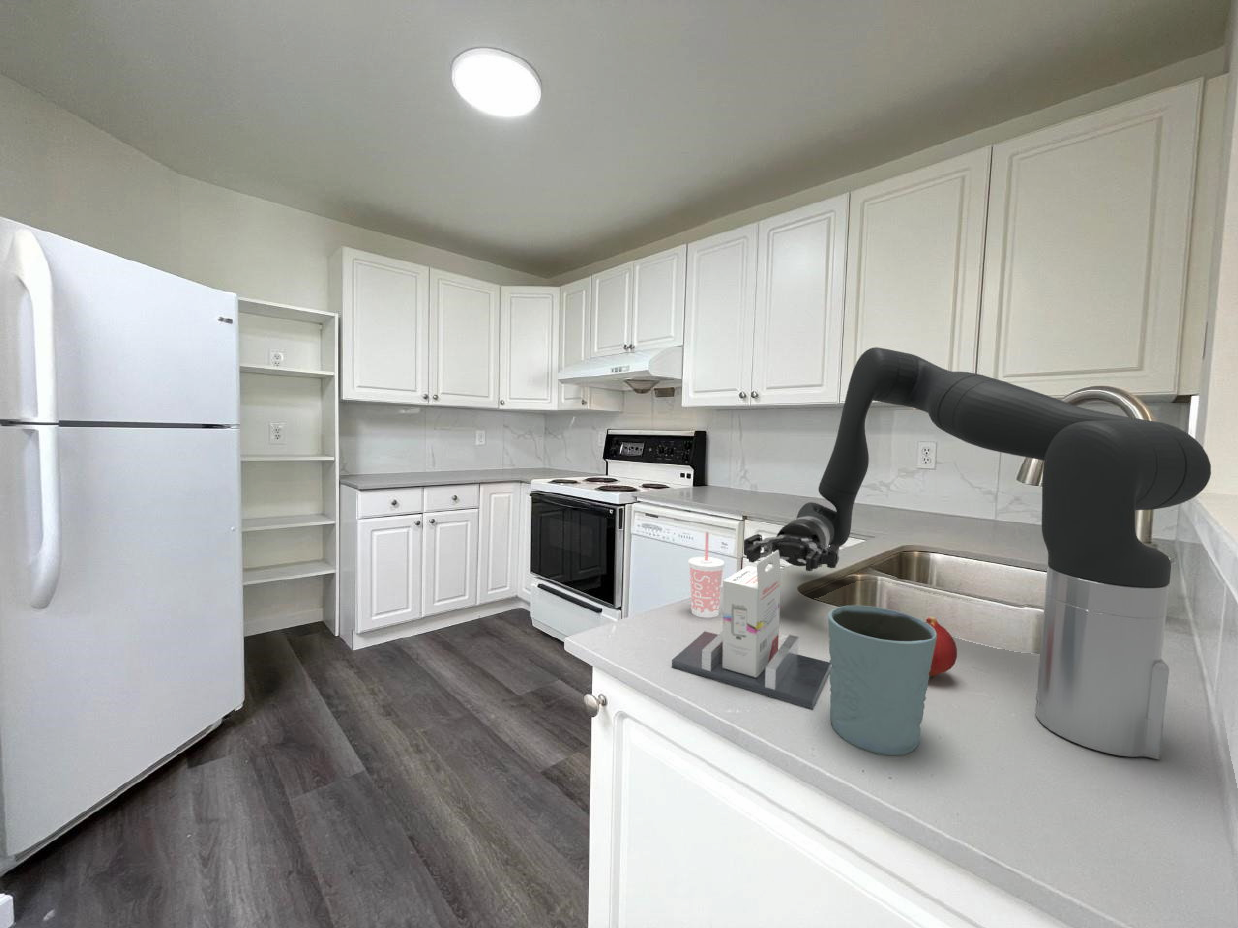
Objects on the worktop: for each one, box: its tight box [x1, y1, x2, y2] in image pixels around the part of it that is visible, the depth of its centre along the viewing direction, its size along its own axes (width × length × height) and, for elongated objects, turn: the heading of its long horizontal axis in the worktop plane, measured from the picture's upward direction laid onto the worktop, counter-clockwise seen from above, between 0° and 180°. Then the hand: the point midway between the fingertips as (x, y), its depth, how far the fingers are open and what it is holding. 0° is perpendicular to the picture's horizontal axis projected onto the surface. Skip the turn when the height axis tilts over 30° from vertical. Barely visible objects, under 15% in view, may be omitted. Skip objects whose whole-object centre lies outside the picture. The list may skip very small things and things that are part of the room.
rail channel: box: [671, 630, 831, 710], centre depth 68 cm, size 18×11×4 cm, turn 57°
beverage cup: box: [687, 531, 725, 619], centre depth 87 cm, size 6×6×14 cm
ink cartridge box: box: [722, 550, 782, 678], centre depth 67 cm, size 9×5×15 cm, turn 145°
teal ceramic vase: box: [827, 605, 937, 756], centre depth 54 cm, size 10×10×12 cm
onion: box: [925, 616, 958, 678], centre depth 66 cm, size 6×6×8 cm
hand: (778, 560), depth 76 cm, fingers open, 8 cm apart
